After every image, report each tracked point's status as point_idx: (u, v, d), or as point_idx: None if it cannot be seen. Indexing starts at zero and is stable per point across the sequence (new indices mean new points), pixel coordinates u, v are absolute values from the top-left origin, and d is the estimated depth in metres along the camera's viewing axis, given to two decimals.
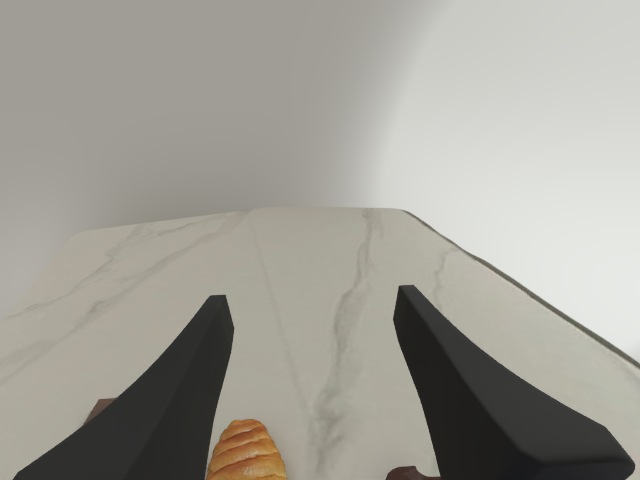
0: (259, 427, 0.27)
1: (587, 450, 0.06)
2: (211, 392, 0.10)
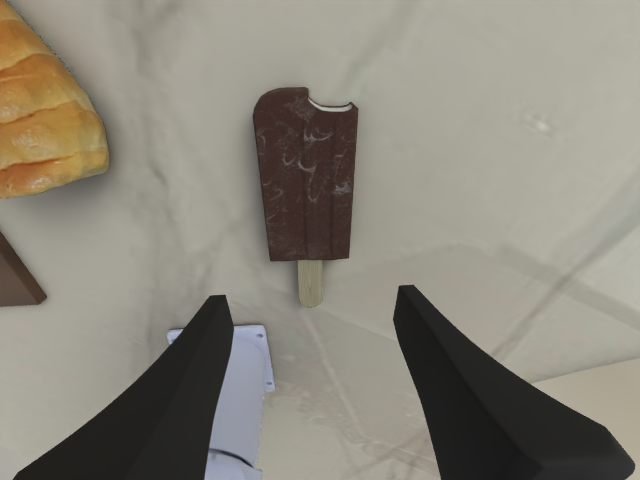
0: None
1: (588, 450, 0.06)
2: (211, 392, 0.10)
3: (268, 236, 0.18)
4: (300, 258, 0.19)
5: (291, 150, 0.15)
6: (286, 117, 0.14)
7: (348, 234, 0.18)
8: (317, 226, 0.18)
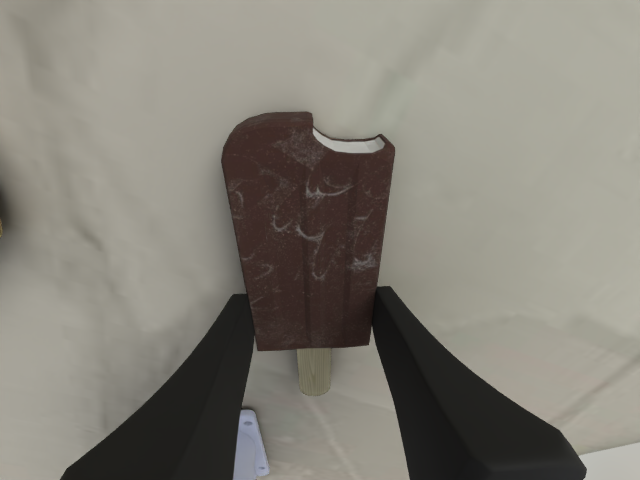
0: None
1: (537, 454, 0.05)
2: (237, 390, 0.10)
3: (253, 323, 0.12)
4: (300, 348, 0.13)
5: (286, 211, 0.10)
6: (276, 163, 0.09)
7: (370, 318, 0.13)
8: (325, 309, 0.12)
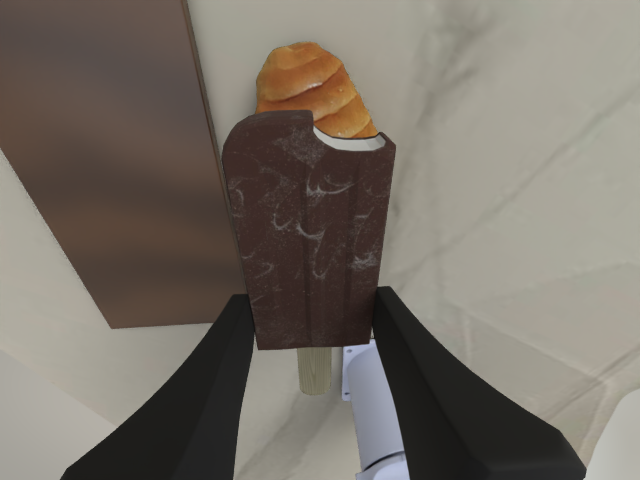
0: (335, 75, 0.13)
1: (537, 454, 0.05)
2: (237, 390, 0.10)
3: (253, 322, 0.12)
4: (300, 347, 0.13)
5: (286, 209, 0.10)
6: (277, 161, 0.09)
7: (370, 317, 0.13)
8: (325, 308, 0.12)
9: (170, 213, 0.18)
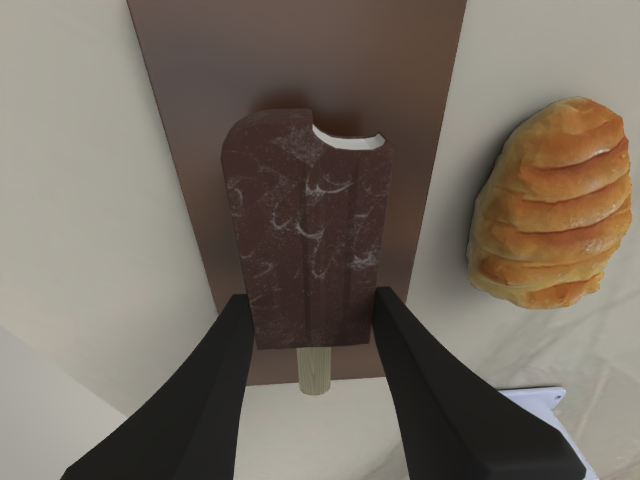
0: (622, 140, 0.11)
1: (537, 454, 0.05)
2: (237, 390, 0.10)
3: (253, 322, 0.12)
4: (300, 346, 0.13)
5: (285, 208, 0.10)
6: (276, 159, 0.09)
7: (370, 317, 0.13)
8: (325, 308, 0.12)
9: None
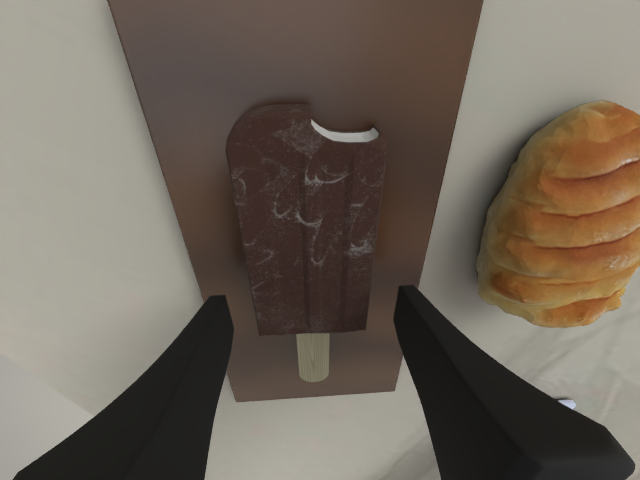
0: None
1: (587, 450, 0.06)
2: (211, 392, 0.10)
3: (255, 308, 0.13)
4: (300, 332, 0.14)
5: (286, 198, 0.10)
6: (277, 151, 0.09)
7: (366, 303, 0.13)
8: (323, 294, 0.13)
9: None
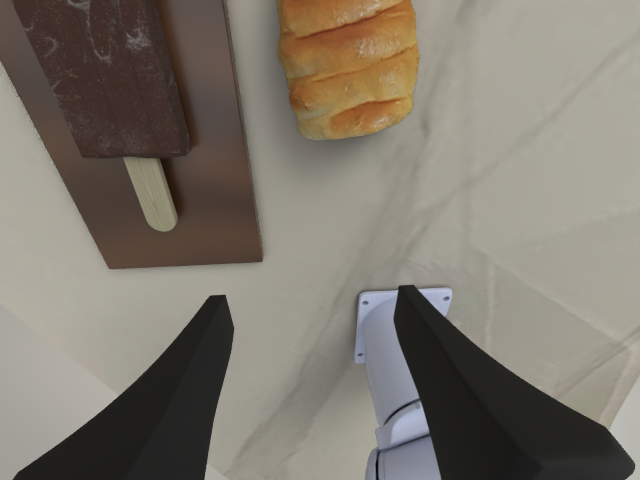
0: None
1: (588, 450, 0.06)
2: (211, 392, 0.10)
3: (64, 117, 0.14)
4: (118, 152, 0.15)
5: None
6: None
7: (169, 116, 0.14)
8: (125, 102, 0.14)
9: None
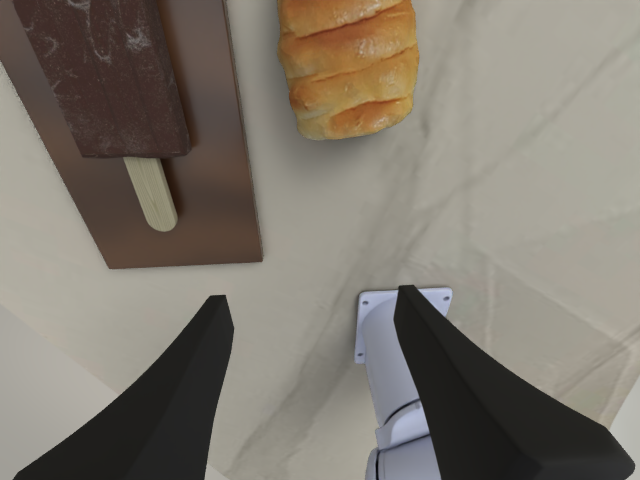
0: None
1: (588, 450, 0.06)
2: (211, 392, 0.10)
3: (64, 117, 0.14)
4: (118, 152, 0.15)
5: None
6: None
7: (169, 116, 0.14)
8: (125, 102, 0.14)
9: None
